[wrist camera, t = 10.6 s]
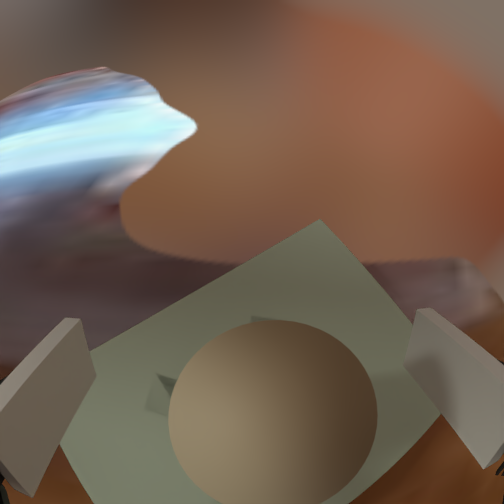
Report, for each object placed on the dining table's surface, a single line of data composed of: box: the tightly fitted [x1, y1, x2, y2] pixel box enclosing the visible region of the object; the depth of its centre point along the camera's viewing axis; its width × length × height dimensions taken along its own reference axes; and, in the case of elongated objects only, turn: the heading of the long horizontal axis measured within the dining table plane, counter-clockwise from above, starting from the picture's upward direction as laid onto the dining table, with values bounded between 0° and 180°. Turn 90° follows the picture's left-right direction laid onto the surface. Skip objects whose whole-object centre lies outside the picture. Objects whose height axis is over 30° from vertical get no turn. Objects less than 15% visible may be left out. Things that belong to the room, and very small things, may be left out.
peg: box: [168, 320, 378, 504], centre depth 10 cm, size 4×4×12 cm
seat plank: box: [59, 219, 441, 504], centre depth 14 cm, size 20×14×3 cm
